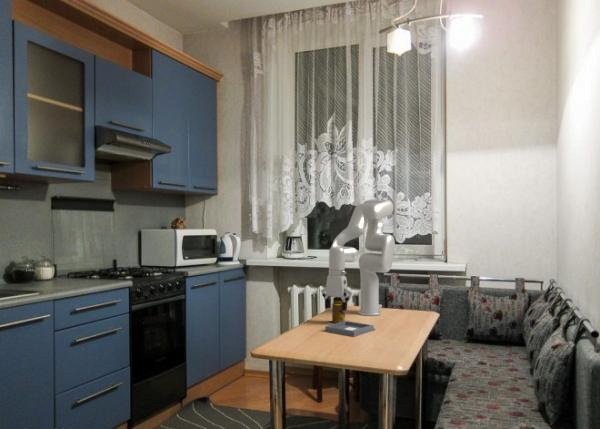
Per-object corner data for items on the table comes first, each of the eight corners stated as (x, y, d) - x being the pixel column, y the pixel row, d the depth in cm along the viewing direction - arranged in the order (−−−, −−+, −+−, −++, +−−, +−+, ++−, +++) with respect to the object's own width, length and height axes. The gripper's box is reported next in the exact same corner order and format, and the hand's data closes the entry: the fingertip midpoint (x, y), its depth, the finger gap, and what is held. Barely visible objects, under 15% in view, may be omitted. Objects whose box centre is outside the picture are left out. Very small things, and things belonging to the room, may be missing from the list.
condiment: (347, 324, 233) (347, 298, 234) (329, 324, 232) (329, 299, 232) (343, 321, 241) (343, 296, 241) (326, 321, 240) (326, 296, 240)
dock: (345, 324, 232) (345, 320, 232) (375, 329, 221) (375, 325, 221) (323, 331, 218) (323, 326, 218) (354, 336, 208) (354, 331, 208)
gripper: (356, 274, 234) (355, 310, 233) (326, 271, 245) (325, 306, 244) (347, 275, 228) (346, 312, 228) (317, 272, 239) (316, 307, 239)
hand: (335, 309), depth 236 cm, fingers open, 9 cm apart
